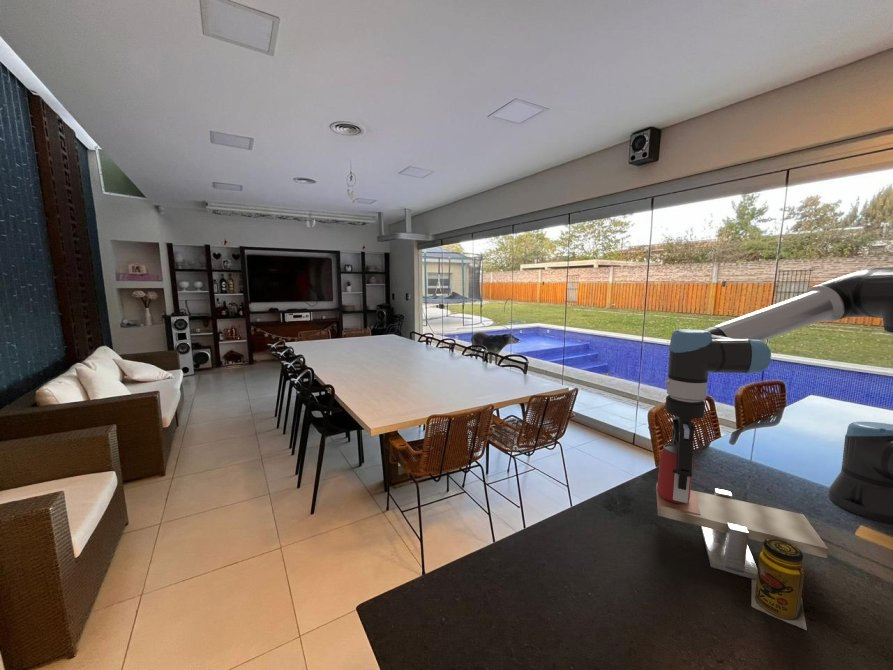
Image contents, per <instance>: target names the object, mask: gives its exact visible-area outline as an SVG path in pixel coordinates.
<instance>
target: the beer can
mask: <svg viewBox="0 0 893 670" xmlns="http://www.w3.org/2000/svg"><path fill="white" fill-rule="evenodd" d="M662 447H663V448H662V449H661V451H660V454H659V461H658V462H659V463H658V464H659V465H658V471H657V472H658V475H657V483H658V484H657V483H656V484H657V492H658V494H659V495H660V496H661V497H662V498H664V499H665V500H667V501H670V502H673V503H678V504H683V503H684V502H680V501H676V500H673V491H674V479H675V473H672V470H676V466H677V445H676V444H671V443H665V444H664V445H663V446H662ZM693 467H694V458H693V457H692V471H693V470H694V469H693ZM692 479H693V476H692V477H690V482H689V493H688V501H689V499H690V490H692V487H691V486H692Z"/></svg>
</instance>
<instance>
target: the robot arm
mask: <svg viewBox="0 0 893 670" xmlns="http://www.w3.org/2000/svg"><path fill="white" fill-rule="evenodd" d="M846 318H847V319H848V318H875V319H877V318H879V319H882V323H883V324H882V325H883V330H884V332H885V333H887V334H889V335H890V336H893V266H889V267H872V268H868V269H862V270H860V271H855V272H852V273H848V274H845V275H842V276H839V277H837V278H834V279H830V280H828V281H826V282H822V283H819V284H815V285H814V286H811V287H809V288H807V290H806V291H805V293H803V294H801V295H798V296H797V295H796V296H795V297H792V298H789V299H786V300H784V301H781V302H778V303H775V304H772V305H770V306H767V307H764V308H761V309H758V310H755V311H753V312H749V313H747V314H744V315H742V316H739V317H736V318H733V319H731V320H727V321H725V322H722V323H720V324H716V325H713V326H710V327H706V328H704V329H690V328H689V329H683V328H682V329H676V330H674V331H672V333H671V338H670V343H669V347H668V351H669V354H668V371H667V380H664V383H663V384H664V386H667V387H666V393H667V396H666V397H665V408H664V410H665V412H666V413H668V414H669V415H672V416H673V417H674V418H672V433H671V435H672V436H671V441H670V444H676V445H677V466H676V470H672V473H675V479H674V491H673V500H676V501H680V502H684V503H688V493H689V482H690V477H692V478H693V470H692V458H693V447H694V446H693V444H694V435H695V430H696V429H695V424H694V421H692V420H694V419H696V420H698V419H699V420H700V419H702V418H704V417H705V412H706V411H705V410H706V402H705V400H706V399H707V393H708V392H707V391H708V384H709V383H708V378H709V373H723V374H724V373H729V374H730V373H731V374H732V373H733V374H735V373H736V374H745V375H747V374H752V373H753V374H754V373H755V374H756V373H761V372H763V371H764V372H765V370H766V369H768V368H769V366H770V364H771V361H772V360H771V357H772V353H771V349H770V347H769V346H768V344H767V343H766V342H764V341H766V340H769V339H772V338H775V337H779V336H781V335H784V334H787V333H790V332H793V331H795V330H798V329H802V328H805V327H808V326H810V325H813V324H816V323H819V322H820V323H821V322H825V323H830V322H831V323H832V322H835V321H839V320H841V319H846ZM843 443H844V444H843V446H844V447H843V453H842V454H843V455H842V461H841V462H842V463H841V469H840V473H839V474H838V475H837V476H836V478H835V479H834V480H833V482H832V484H831V485H830V486H829V488H828V494H827V496H828V498H829V500H831V501H832V502H833V503H834V504H835V505H837V506H839V507H841V508H843V509H844V510H846V511H849V512H851V513H853V514H856V515H858V516H862V517H863V518H867V519H871V520H873V521H877V522H881V523H885V524H891V525H893V423H892V424H891V423H885V422H877V421H876V422H874V421H854V422H851V423H850V424H848V426H847V431H846V433H845V435H844V442H843Z"/></svg>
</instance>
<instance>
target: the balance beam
mask: <svg viewBox="0 0 893 670" xmlns="http://www.w3.org/2000/svg"><path fill="white" fill-rule="evenodd" d="M657 484H658V482H656V484H655V485H656V486H655V494H656V506H657V507H656V509H657V516H658V517H661V518H662V517H663V518H666V519H670V520H674V521H677V522H678V521H679V522H682V523H686V524H690V525H694V526H698V527H700V528H701V527H705V528H709V529H713V530H717V531H721V532H725V533H727V527H728V523H731V524H735V525H739V526H743V527H746V528H747V530H748V533H749V534H748V540H749V539H750V540H752V541H757V542H760V543H764V541H765V540H766V539H768V538H775V539H780V540H783V541H786V542H788V543H790V544H792V545H794V546H795V547H797V548H798V549H800V551H801V552H802V553H804V554H808V555H810V556H811V555H812V556H817V557H821V558H824V559H827V558H828V552H829V547H827V545H826V544H825V542H824V541H823V540H822V538H821V537H820V535H819V534H818V533H817V531H816V530H815V528H814V527H813V525H811V523H810V522H809V520H808V519H807V517H806V516H805V515H804V514H803V513H798V512H793V511H788V510H784V509H779V508H776V507H771V506H766V505H761V504H757V503H752V502H747V501H742V500H738V499H733V498H732V499H730V498H725V497H720V496H716V495H714V494H711V493H706V492H701V491H698V490H693V489H691V490H690V499H689V501H688V503H683V504H678V503H673V502H670V501H667V500H665V499H664V498H662V497H661V496H660V495H659V494H658V492H657Z"/></svg>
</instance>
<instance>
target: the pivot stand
mask: <svg viewBox="0 0 893 670" xmlns="http://www.w3.org/2000/svg"><path fill="white" fill-rule="evenodd" d="M713 495H716V496H720V497H725V498H730V499H733V494H732V492H731V491H729V490H725V489H720V488H714V493H713ZM700 529H701V533H702V538H703V541H704V545H705V549H706V553H707V557H708V561H709V565H710V567H711V568H714V569H718V570H720V571H724V572H726V573H731V574H734V575H737V576H741V577H746V578H748V579H750V580H752V579H753V580H755V581H757V573H758V567H757V565H756V563H755V560H754V557H753V555H752V552H751V550H750V548H749V546H748V544H749V543H748V541H749V539H748V534H749V533H748V530H747V528H746V527H743V526H739V525H735V524H731V523H728V527H727V533H725V532H721V531H717V530H713V529H709V528H705V527H701V526H700Z"/></svg>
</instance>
